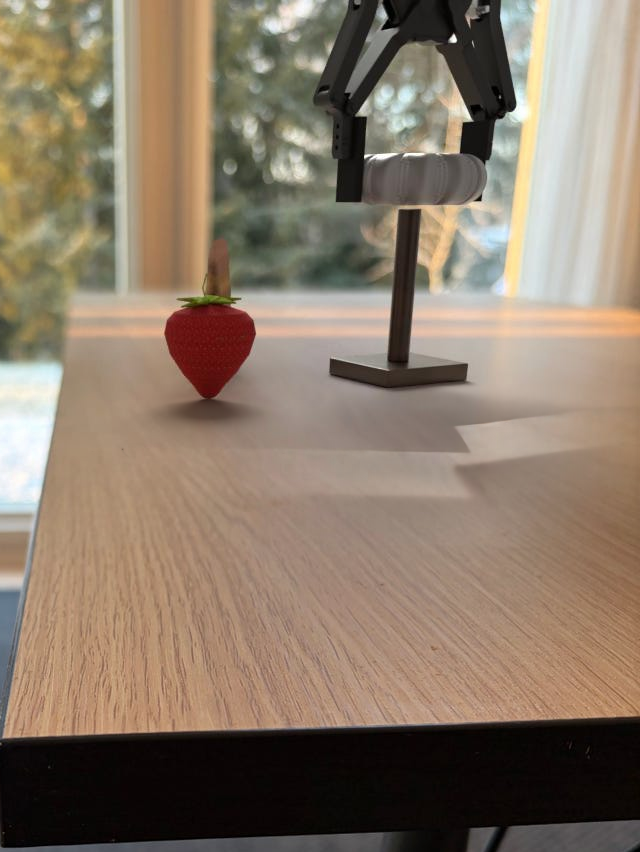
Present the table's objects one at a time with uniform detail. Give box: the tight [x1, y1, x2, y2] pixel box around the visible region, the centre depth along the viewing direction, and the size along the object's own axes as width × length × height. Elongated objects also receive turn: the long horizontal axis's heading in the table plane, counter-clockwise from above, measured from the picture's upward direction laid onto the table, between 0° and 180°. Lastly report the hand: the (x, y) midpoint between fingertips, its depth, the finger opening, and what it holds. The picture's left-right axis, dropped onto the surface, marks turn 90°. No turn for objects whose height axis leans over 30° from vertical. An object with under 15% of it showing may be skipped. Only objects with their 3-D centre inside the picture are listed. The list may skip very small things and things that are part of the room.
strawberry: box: [163, 272, 257, 400], centre depth 86 cm, size 6×8×10 cm
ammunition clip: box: [204, 236, 232, 307], centre depth 100 cm, size 11×2×12 cm, turn 172°
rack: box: [328, 208, 469, 388], centre depth 96 cm, size 9×9×14 cm
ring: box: [349, 152, 488, 206], centre depth 92 cm, size 12×12×4 cm
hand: (409, 202), depth 93 cm, fingers closed on ring, 12 cm apart
